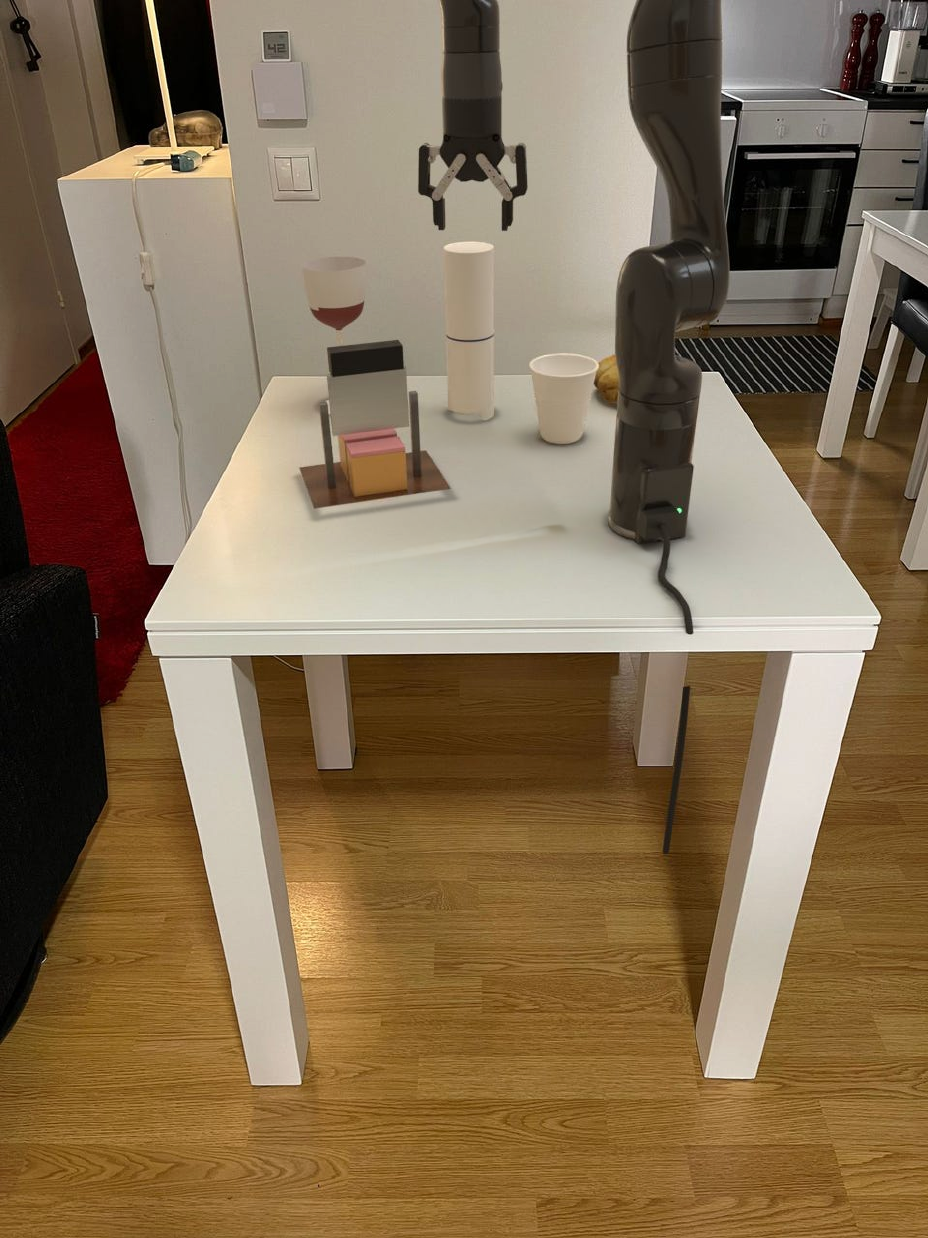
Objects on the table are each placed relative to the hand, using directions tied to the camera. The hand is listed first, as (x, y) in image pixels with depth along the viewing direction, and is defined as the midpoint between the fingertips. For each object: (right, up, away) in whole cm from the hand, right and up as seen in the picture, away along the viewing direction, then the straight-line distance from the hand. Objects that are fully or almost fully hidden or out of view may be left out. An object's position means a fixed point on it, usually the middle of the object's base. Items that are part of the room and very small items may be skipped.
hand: (473, 229), depth 130 cm
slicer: (-13, -35, 0) cm, 37 cm away
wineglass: (-20, -18, +25) cm, 37 cm away
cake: (-13, -34, -1) cm, 36 cm away
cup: (+13, -26, +13) cm, 32 cm away
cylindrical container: (0, -21, +21) cm, 30 cm away
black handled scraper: (-13, -28, -6) cm, 32 cm away
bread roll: (+24, -17, +25) cm, 39 cm away
